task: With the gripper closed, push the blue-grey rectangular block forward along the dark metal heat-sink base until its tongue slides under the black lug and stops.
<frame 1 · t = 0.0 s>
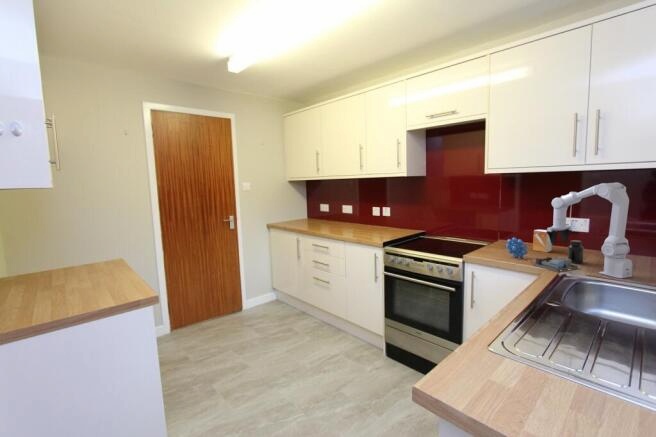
hand: (558, 243, 177), 10 cm above the counter, fingers open, 7 cm apart
supplement bottle: (575, 262, 174), on the counter
grapes: (515, 258, 188), on the counter
heatsink base: (551, 267, 167), on the counter
small box: (541, 250, 202), on the counter
blue-grey rectangular block: (554, 262, 165), point 3 cm above the counter, slide at 0.0 cm
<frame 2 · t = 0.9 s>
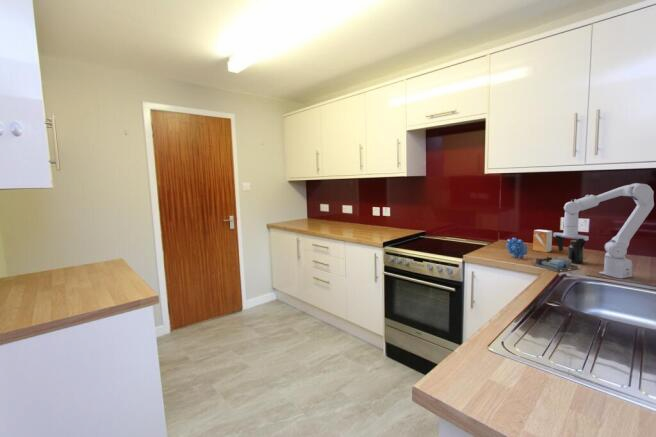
hand: (569, 252, 159), 9 cm above the counter, fingers open, 7 cm apart
nothing on the counter moved.
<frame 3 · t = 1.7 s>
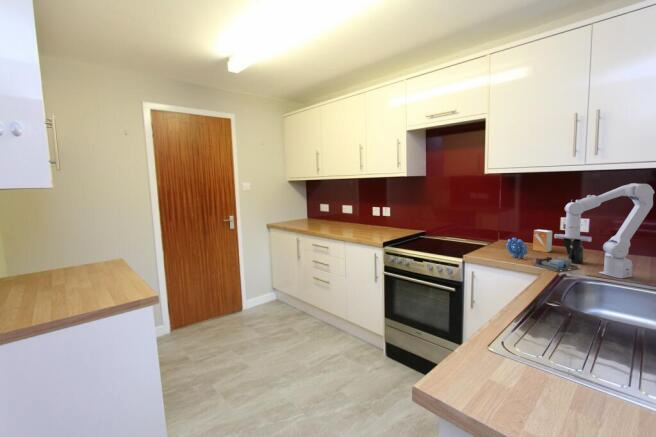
hand: (571, 253, 156), 9 cm above the counter, fingers closed
nothing on the counter moved.
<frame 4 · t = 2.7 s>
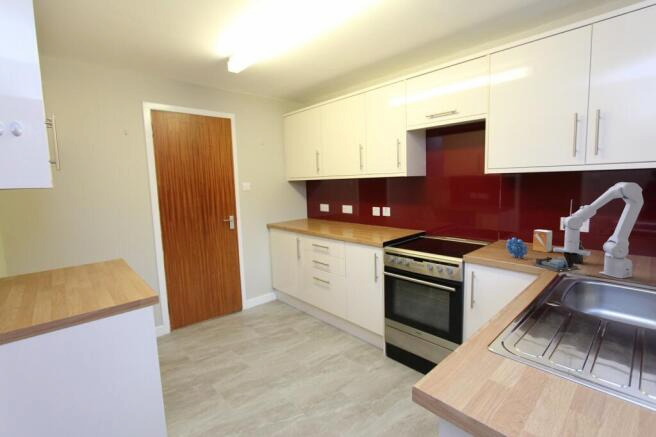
hand: (570, 267, 157), 2 cm above the counter, fingers closed
nothing on the counter moved.
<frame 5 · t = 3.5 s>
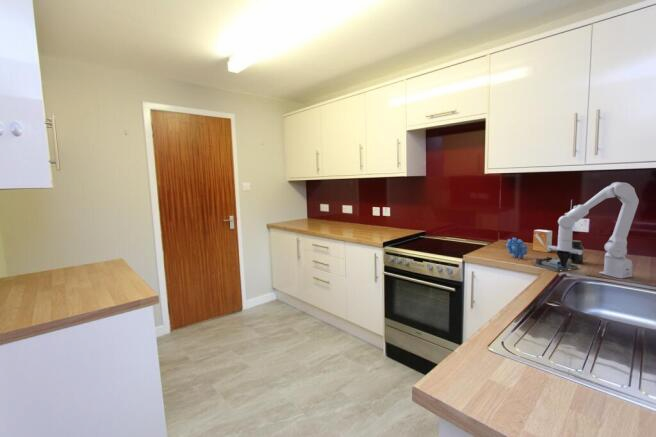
hand: (563, 265, 161), 2 cm above the counter, fingers closed
blue-grey rectangular block: (554, 262, 165), point 3 cm above the counter, slide at 0.0 cm, touching gripper
everything else where it was.
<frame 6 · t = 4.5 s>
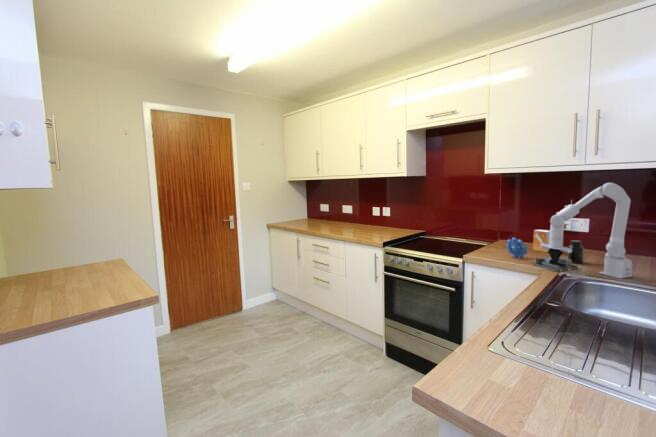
hand: (554, 263, 165), 2 cm above the counter, fingers closed
blue-grey rectangular block: (546, 260, 170), point 3 cm above the counter, slide at 4.5 cm, touching gripper, heatsink base
everything else where it was.
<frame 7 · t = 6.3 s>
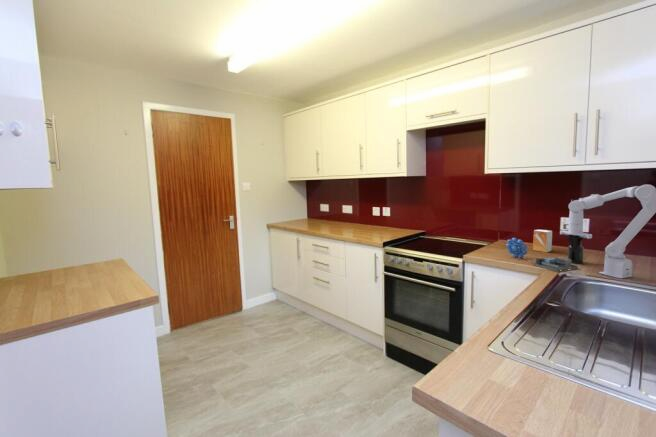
hand: (574, 250, 162), 10 cm above the counter, fingers closed
blue-grey rectangular block: (546, 260, 170), point 3 cm above the counter, slide at 4.5 cm, touching heatsink base
everything else where it was.
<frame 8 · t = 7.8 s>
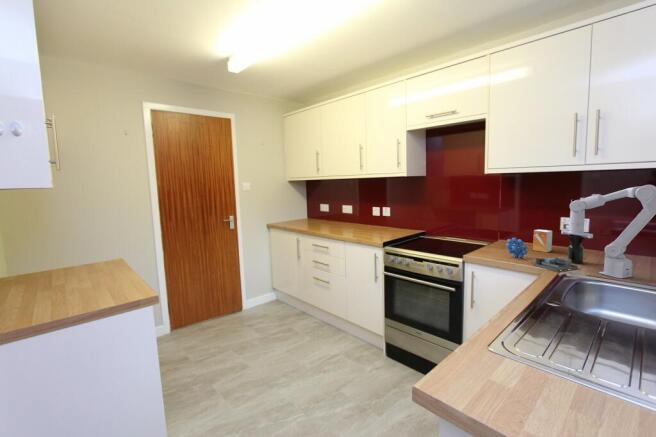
hand: (575, 249, 162), 10 cm above the counter, fingers closed
nothing on the counter moved.
at the end: blue-grey rectangular block slide at 4.5 cm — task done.
